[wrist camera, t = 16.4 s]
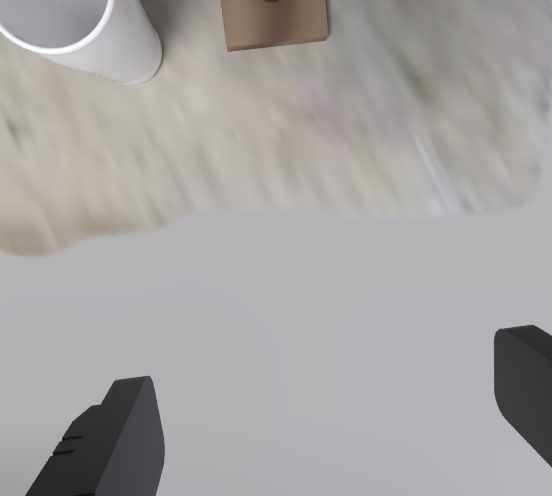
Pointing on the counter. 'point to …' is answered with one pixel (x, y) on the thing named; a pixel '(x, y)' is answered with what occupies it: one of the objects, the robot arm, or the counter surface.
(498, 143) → the counter surface
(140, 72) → the drinking glass
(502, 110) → the counter surface
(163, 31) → the counter surface
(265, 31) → the square wooden base
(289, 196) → the counter surface
